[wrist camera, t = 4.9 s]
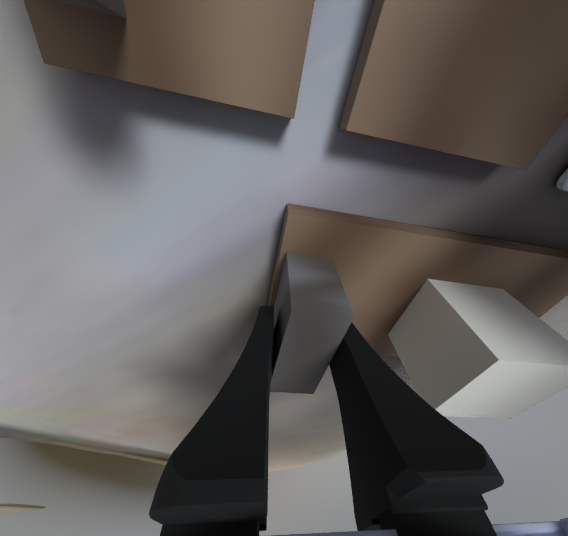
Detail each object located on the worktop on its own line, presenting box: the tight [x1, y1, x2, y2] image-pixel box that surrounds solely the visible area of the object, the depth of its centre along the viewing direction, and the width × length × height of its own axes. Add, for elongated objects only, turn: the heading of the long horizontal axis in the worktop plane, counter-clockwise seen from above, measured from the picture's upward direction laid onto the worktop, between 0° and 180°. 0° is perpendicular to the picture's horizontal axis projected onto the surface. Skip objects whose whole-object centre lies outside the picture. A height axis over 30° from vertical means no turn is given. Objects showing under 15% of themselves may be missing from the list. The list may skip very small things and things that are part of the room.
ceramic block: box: [388, 279, 568, 419], centre depth 12 cm, size 5×5×5 cm
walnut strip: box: [267, 203, 568, 394], centre depth 13 cm, size 18×10×5 cm, turn 79°
